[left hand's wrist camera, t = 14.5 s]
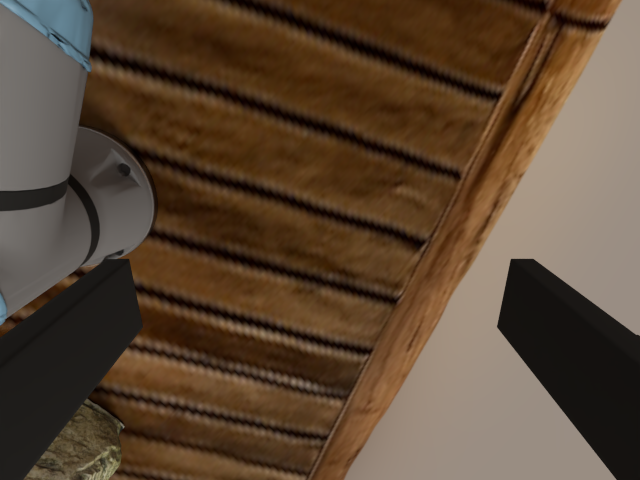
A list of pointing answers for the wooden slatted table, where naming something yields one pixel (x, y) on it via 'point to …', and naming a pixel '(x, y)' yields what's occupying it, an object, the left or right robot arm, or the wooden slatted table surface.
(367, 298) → the wooden slatted table surface
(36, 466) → the fossil
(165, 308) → the wooden slatted table surface
